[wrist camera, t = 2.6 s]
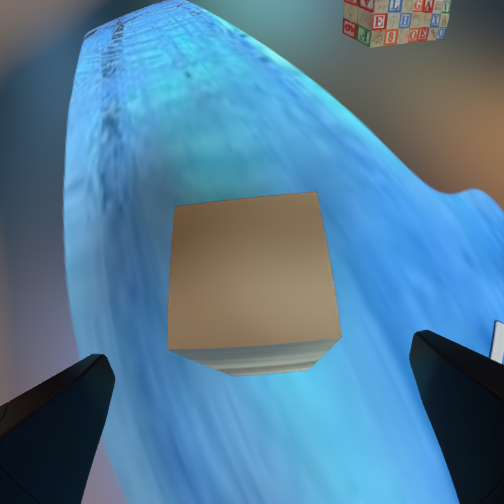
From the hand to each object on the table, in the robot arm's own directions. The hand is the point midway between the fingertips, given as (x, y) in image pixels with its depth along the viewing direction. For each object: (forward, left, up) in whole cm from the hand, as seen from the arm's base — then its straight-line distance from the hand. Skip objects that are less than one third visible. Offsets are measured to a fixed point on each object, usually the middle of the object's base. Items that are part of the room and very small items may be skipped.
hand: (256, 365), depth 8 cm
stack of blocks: (+54, -2, -11) cm, 55 cm away
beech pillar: (+2, +1, -10) cm, 11 cm away
